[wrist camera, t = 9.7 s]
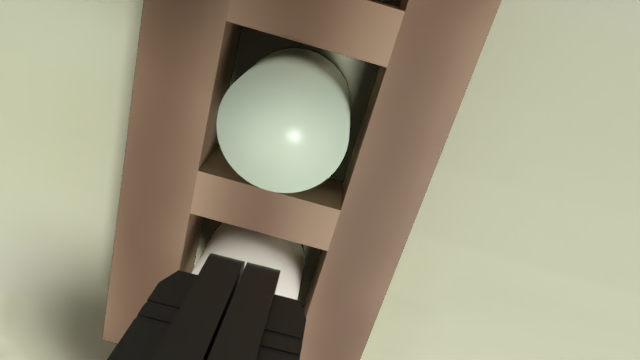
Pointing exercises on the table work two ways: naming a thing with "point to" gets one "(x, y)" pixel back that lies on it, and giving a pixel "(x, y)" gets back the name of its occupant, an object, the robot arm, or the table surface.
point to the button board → (300, 207)
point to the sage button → (286, 121)
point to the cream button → (259, 254)
